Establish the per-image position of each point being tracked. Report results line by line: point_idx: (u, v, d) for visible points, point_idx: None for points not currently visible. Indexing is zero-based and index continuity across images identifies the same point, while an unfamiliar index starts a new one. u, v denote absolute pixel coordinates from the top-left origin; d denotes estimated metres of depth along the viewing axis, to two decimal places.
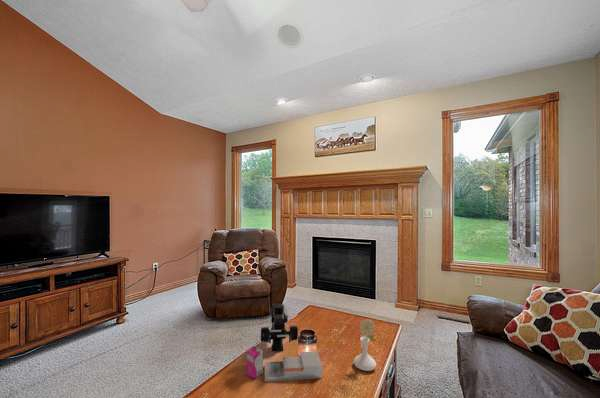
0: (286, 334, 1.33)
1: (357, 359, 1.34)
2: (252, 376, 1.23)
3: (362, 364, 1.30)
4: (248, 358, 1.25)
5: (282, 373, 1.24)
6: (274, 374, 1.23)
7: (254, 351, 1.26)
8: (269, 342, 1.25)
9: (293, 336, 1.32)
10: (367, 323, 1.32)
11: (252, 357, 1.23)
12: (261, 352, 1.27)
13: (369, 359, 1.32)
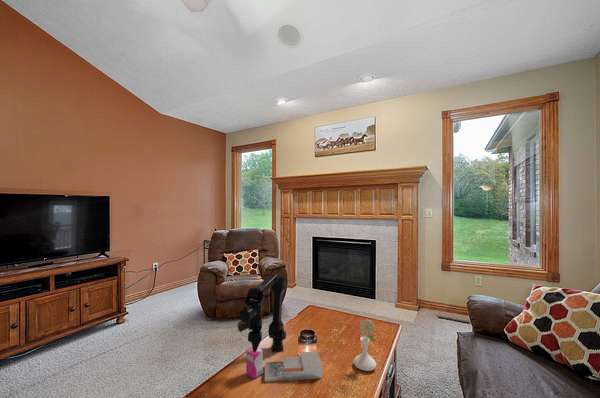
0: None
1: (357, 359, 1.34)
2: (252, 376, 1.23)
3: (362, 364, 1.30)
4: (248, 358, 1.25)
5: (282, 373, 1.24)
6: (274, 374, 1.23)
7: None
8: None
9: None
10: (367, 323, 1.32)
11: (252, 357, 1.23)
12: (261, 352, 1.27)
13: (369, 359, 1.32)
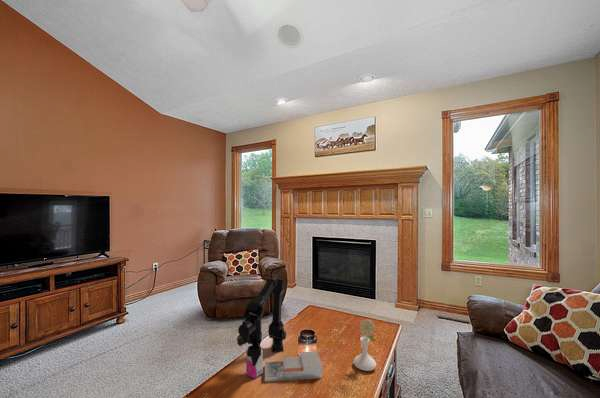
0: None
1: (357, 359, 1.34)
2: (252, 376, 1.23)
3: (362, 364, 1.30)
4: (248, 358, 1.25)
5: (282, 373, 1.24)
6: (274, 374, 1.23)
7: None
8: None
9: None
10: (367, 323, 1.32)
11: None
12: (261, 352, 1.27)
13: (369, 359, 1.32)
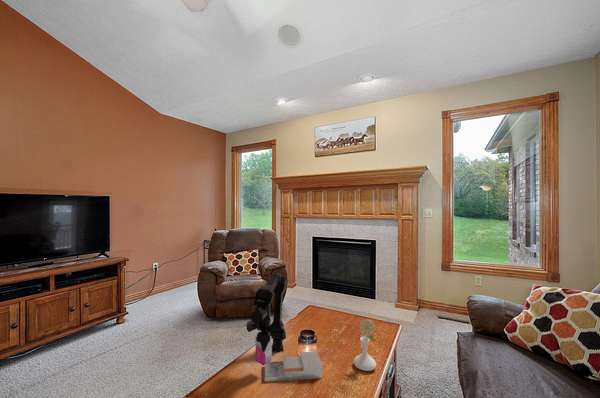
0: None
1: (357, 359, 1.34)
2: (261, 362, 1.24)
3: (362, 364, 1.30)
4: (257, 344, 1.26)
5: (282, 373, 1.24)
6: (274, 374, 1.23)
7: None
8: None
9: None
10: (367, 323, 1.32)
11: None
12: (270, 338, 1.27)
13: (369, 359, 1.32)
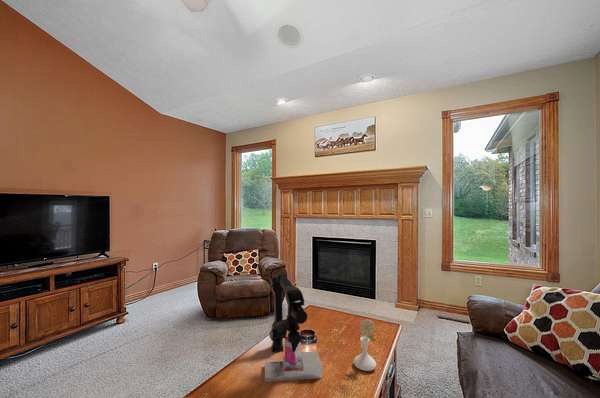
0: None
1: (357, 359, 1.34)
2: (291, 362, 1.26)
3: (362, 364, 1.30)
4: (287, 344, 1.28)
5: (282, 373, 1.24)
6: (274, 374, 1.23)
7: None
8: None
9: None
10: (367, 323, 1.32)
11: None
12: None
13: (369, 359, 1.32)
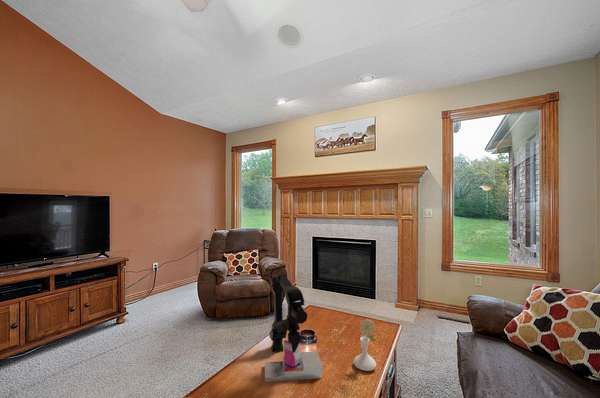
0: None
1: (357, 359, 1.34)
2: (291, 364, 1.26)
3: (362, 364, 1.30)
4: (286, 347, 1.28)
5: (282, 373, 1.24)
6: (274, 374, 1.23)
7: None
8: None
9: None
10: (367, 323, 1.32)
11: (291, 345, 1.26)
12: None
13: (369, 359, 1.32)
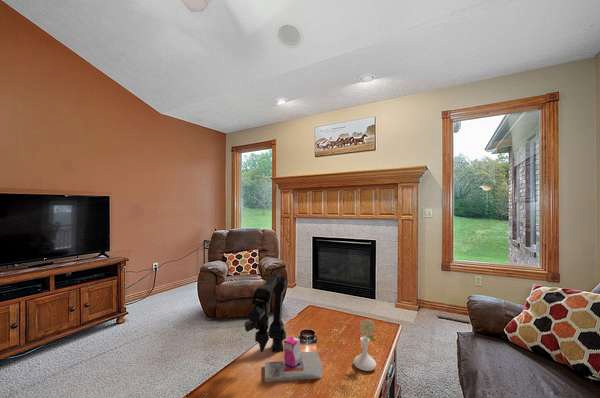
0: None
1: (357, 359, 1.34)
2: (291, 364, 1.26)
3: (362, 364, 1.30)
4: (286, 347, 1.28)
5: (282, 373, 1.24)
6: (274, 374, 1.23)
7: (291, 340, 1.28)
8: None
9: None
10: (367, 323, 1.31)
11: (291, 345, 1.26)
12: (298, 341, 1.29)
13: (369, 359, 1.32)
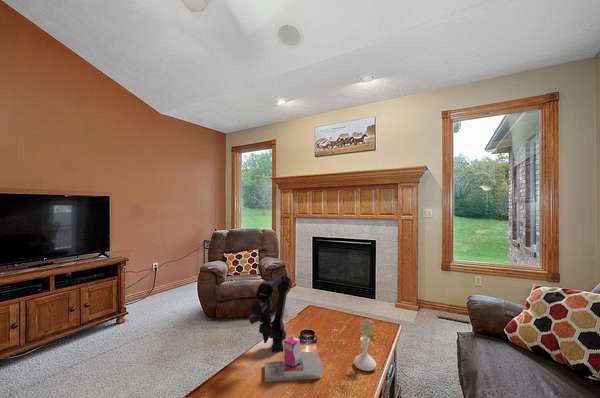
0: None
1: (357, 359, 1.34)
2: (291, 364, 1.26)
3: (362, 364, 1.30)
4: (286, 347, 1.28)
5: (282, 373, 1.24)
6: (274, 374, 1.23)
7: (291, 340, 1.28)
8: None
9: None
10: (367, 323, 1.32)
11: (291, 345, 1.26)
12: (298, 341, 1.29)
13: (369, 359, 1.32)
